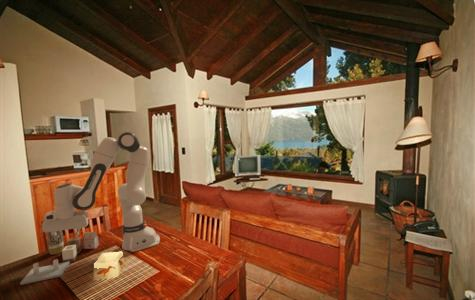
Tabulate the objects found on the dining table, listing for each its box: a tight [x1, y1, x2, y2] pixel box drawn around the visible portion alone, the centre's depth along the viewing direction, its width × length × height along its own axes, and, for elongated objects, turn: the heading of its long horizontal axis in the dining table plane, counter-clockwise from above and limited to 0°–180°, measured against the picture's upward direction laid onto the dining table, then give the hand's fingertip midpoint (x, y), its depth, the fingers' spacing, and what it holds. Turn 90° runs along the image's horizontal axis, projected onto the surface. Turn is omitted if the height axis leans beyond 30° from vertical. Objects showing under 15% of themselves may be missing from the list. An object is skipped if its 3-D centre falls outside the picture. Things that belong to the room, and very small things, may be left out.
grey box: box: [82, 231, 99, 250], centre depth 133 cm, size 4×7×10 cm, turn 93°
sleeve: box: [61, 245, 78, 263], centre depth 121 cm, size 5×5×7 cm
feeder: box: [66, 236, 83, 255], centre depth 127 cm, size 6×5×8 cm
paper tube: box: [45, 209, 65, 256], centre depth 127 cm, size 7×7×25 cm
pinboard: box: [19, 258, 71, 286], centre depth 109 cm, size 16×11×6 cm
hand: (66, 236), depth 119 cm, fingers open, 8 cm apart
